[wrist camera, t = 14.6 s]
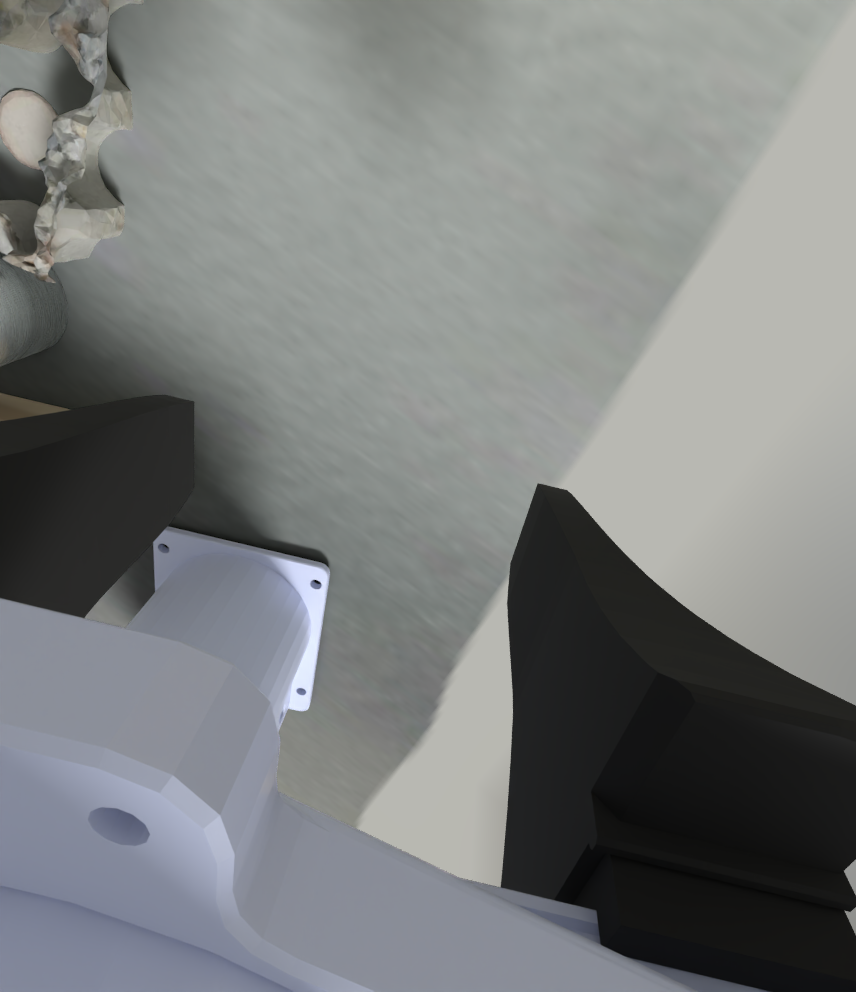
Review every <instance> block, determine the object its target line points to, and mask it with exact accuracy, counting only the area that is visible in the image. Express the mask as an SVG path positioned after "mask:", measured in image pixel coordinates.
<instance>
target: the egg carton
mask: <svg viewBox="0 0 856 992" xmlns="http://www.w3.org/2000/svg"><path fill="white" fill-rule="evenodd" d="M143 2H144V0H0V44H4V45H8V46H12V47H16V48H20V49H24V50H28V51H32V52H38V53H52V52H54V51H56V50H57V49H58V48H59V47H61V45H63V46H64V47H65V49H66V50H67V51H68V52H69V54H70V55H71V57H72V58H73V60H74V61H75V63H76V65H77V68H78V70H79V72H80V73H81V74H82V76H83V77H84V78H85V79H86V80H88V81H89V82H90V83H92V84H93V86H94V89H93V93H92V96H91V99H90V101H89V102H88V103H87V104H86V105H85V106H84V107H82V108H78V109H75V110H71V111H69V112H66V113H64V114H61V115H59V116H58V115H57V114H56V112H55V111H54V109H53V108H52V106H51V105H50V104H49V103H48V102H47V101H46V100H45V99H44V98H43V97H42V96H40V95H38V94H37V93H35V92H33V91H29V90H24V89H20V90H15V91H10V92H9V93H8V94H7V95H5V96H4V97H3V98H2V100H1V103H0V135H1V138H2V140H3V143H4V144H5V145H6V147H7V148H8V149H9V151H10V152H11V153H12V154H13V156H14V157H15V158H16V159H17V160H18V161H20V162H21V163H22V164H24V165H26V166H28V167H30V168H33V169H37V170H42V171H43V173H44V176H45V178H46V179H45V184H46V186H47V187H48V190H47V192H46V195H45V197H44V199H43V201H42V203H41V205H40V206H38V205H36V204H34V203H32V202H30V201H25V200H0V252H1V253H4V254H6V256H3V257H2V259H3V260H5V261H7V262H8V263H10V264H12V265H14V266H17V267H19V268H21V269H24V270H26V271H29V272H31V273H35V274H34V276H35V277H36V278H37V279H38V280H40V281H45V282H52V283H55V282H56V281H55V280H54V279H53V278H52V277H51V276H50V275H49V274H48V272H49V270H50V268H51V266H53V265H54V263H56V262H68V261H71V260H77V259H84V258H88V257H90V255H91V252H92V250H93V249H94V247H95V245H96V243H97V242H98V241H100V240H101V239H107V238H112V237H115V236H120V234H121V233H122V230H123V227H124V214H125V207H124V205H123V204H122V203H120V202H119V201H118V200H116V199H115V198H114V196H113V195H112V194H111V193H110V192H109V190H108V189H107V188H106V187H105V185H104V182H103V180H102V178H101V175H100V171H99V167H98V151H99V147H100V145H101V143H102V142H103V140H104V139H105V138H106V137H107V136H108V135H109V134H111V133H112V132H114V131H116V130H133V116H132V105H131V96H132V94H131V91H130V90H129V89H128V88H127V87H126V86H125V85H124V84H123V83H122V82H121V81H120V80H119V78H118V77H117V76H116V74H115V73H114V72H113V70H112V68H111V66H110V63H109V60H108V57H107V33H108V21H109V18H110V16H111V14H113V13H114V12H115V11H116V10H117V9H119V8H120V7H122V6H124V5H126V4H143Z"/></svg>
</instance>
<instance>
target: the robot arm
mask: <svg viewBox="0 0 856 992" xmlns="http://www.w3.org/2000/svg"><path fill="white" fill-rule="evenodd" d="M193 489H194V402H193V401H189V400H185V399H180V398H176V397H172V396H168V395H153V396H144V397H138V398H131V399H126V400H120V401H115V402H109V403H104V404H99V405H94V406H89V407H83V408H78V409H73V410H67V411H61V412H55V413H49V414H43V415H37V416H31V417H25V418H19V419H12V420H5V421H0V992H856V935H855V933H854V931H853V929H852V926H851V924H850V922H849V920H848V918H847V915H846V913H845V911H849V912H851V911H852V910H853V909H854V908H855V907H856V895H855V894H854V891H853V889H852V887H851V885H850V883H849V881H848V879H847V877H846V875H845V873H844V870H845V869H846V868H847V867H848V866H849V865H850V864H851V863H852V862H853V861H854V860H855V859H856V706H855V705H853V704H851V703H849V702H847V701H845V700H843V699H841V698H839V697H837V696H835V695H833V694H830V693H829V692H827V691H825V690H823V689H820V688H818V687H816V686H814V685H812V684H810V683H808V682H806V681H804V680H802V679H800V678H798V677H796V676H794V675H792V674H790V673H789V672H787V671H785V670H783V669H781V668H780V667H778V666H776V665H774V664H772V663H771V662H769V661H767V660H766V659H764V658H762V657H760V656H759V655H757V654H755V653H753V652H751V651H750V650H748V649H746V648H745V647H743V646H742V645H740V644H738V643H737V642H735V641H734V640H732V639H731V638H729V637H727V636H726V635H724V634H723V633H722V632H720V631H719V630H717V629H716V628H714V627H713V626H711V625H710V624H708V623H707V622H705V621H704V620H702V619H701V618H700V617H698V616H697V615H695V614H694V613H693V612H691V611H690V610H689V609H687V608H686V607H685V606H683V605H682V604H681V603H679V602H678V601H677V600H676V599H675V598H673V597H672V596H671V595H670V594H668V593H667V592H666V591H665V590H664V589H662V588H661V587H660V586H659V585H657V584H656V583H655V582H654V581H653V580H652V579H651V578H649V577H648V576H647V575H646V574H645V573H644V572H643V571H642V570H641V569H640V568H639V567H638V566H637V565H636V564H635V563H634V562H633V561H632V560H631V559H630V558H629V557H628V556H627V555H626V554H625V553H624V552H623V551H622V550H621V549H620V548H619V547H618V546H617V545H616V544H615V543H614V542H613V541H612V540H611V539H610V538H609V536H607V534H606V533H605V532H604V531H603V530H602V529H601V527H600V526H599V525H598V524H597V523H596V522H595V520H594V519H593V518H592V517H591V516H590V515H589V513H588V512H587V511H586V510H585V509H584V508H583V506H582V505H581V504H580V503H579V502H578V501H577V500H576V499H575V497H573V495H572V494H571V493H570V492H568V491H567V490H564V489H559V488H555V487H551V486H547V485H543V484H537V487H536V490H535V493H534V496H533V499H532V502H531V505H530V508H529V511H528V514H527V517H526V520H525V523H524V525H523V528H522V531H521V534H520V537H519V540H518V543H517V546H516V549H515V552H514V555H513V558H512V561H511V565H510V575H509V586H508V601H507V606H508V623H509V641H510V655H511V656H510V657H511V672H512V688H513V727H512V747H511V764H510V779H509V780H510V781H509V796H508V810H507V822H506V835H505V846H504V858H503V870H502V881H501V887H496V886H492V885H488V884H484V883H479V882H476V881H471V880H467V879H463V878H459V877H457V876H455V875H453V874H451V873H448V872H446V871H444V870H442V869H440V868H438V867H436V866H434V865H432V864H430V863H428V862H425V861H423V860H421V859H419V858H417V857H415V856H413V855H411V854H409V853H407V852H404V851H402V850H400V849H398V848H396V847H394V846H392V845H390V844H388V843H386V842H383V841H381V840H379V839H377V838H375V837H373V836H371V835H369V834H367V833H365V832H363V831H360V830H358V829H356V828H354V827H352V826H350V825H348V824H346V823H344V822H342V821H339V820H337V819H335V818H333V817H331V816H329V815H327V814H325V813H323V812H321V811H318V810H316V809H314V808H312V807H310V806H308V805H306V804H304V803H302V802H300V801H297V800H295V799H293V798H291V797H289V796H287V795H285V794H283V793H281V792H279V791H278V788H277V777H276V775H277V766H278V758H279V749H280V736H279V729H280V727H281V724H282V722H283V719H284V717H285V714H286V712H287V710H288V708H289V709H293V710H297V711H305V710H307V709H308V708H309V705H310V703H311V697H312V691H313V684H314V677H315V671H316V664H317V657H318V651H319V644H320V637H321V631H322V624H323V617H324V611H325V604H326V597H327V591H328V584H329V578H330V570H329V568H328V567H327V566H326V565H325V564H323V563H321V562H317V561H312V560H308V559H304V558H300V557H296V556H291V555H287V554H283V553H279V552H274V551H270V550H266V549H262V548H257V547H253V546H249V545H245V544H241V543H236V542H232V541H228V540H224V539H219V538H215V537H211V536H207V535H203V534H198V533H194V532H190V531H186V530H181V529H177V528H173V527H169V526H168V525H169V524H170V523H171V522H172V520H173V519H174V517H175V516H176V515H177V513H178V512H179V510H180V509H181V508H182V506H183V504H184V503H185V501H186V500H187V498H188V497H189V495H190V493H191V492H192V490H193ZM152 543H153V550H154V576H155V593H154V594H153V596H152V597H151V598H150V599H149V600H148V601H147V603H146V604H145V605H144V606H143V607H142V609H141V610H140V611H139V612H138V613H137V615H136V616H135V617H134V618H133V619H132V621H131V622H130V623H129V624H128V625H127V626H126V628H123V627H119V626H115V625H111V624H106V623H102V622H98V621H94V620H90V619H85V618H84V617H85V616H86V615H87V613H88V612H89V611H90V610H91V609H92V607H93V606H94V605H95V604H96V603H97V602H98V601H99V599H100V598H101V597H102V596H103V595H104V594H105V593H106V592H107V590H108V589H109V588H110V587H111V586H112V585H113V584H114V583H115V582H116V581H117V580H118V579H119V578H120V577H121V576H122V575H123V574H124V572H125V571H126V570H127V569H128V568H129V567H130V566H131V565H132V564H133V563H134V562H135V561H136V560H137V559H138V558H139V557H140V556H141V555H142V553H143V552H144V551H145V550H146V549H147V548H148V547H149V546H150V545H151V544H152ZM163 544H165V545H167V546H168V547H169V548H166V547H165V546H164V545H163ZM313 580H318V581H320V583H321V584H317V583H315V582H314V581H313ZM301 688H303V689H301ZM844 910H845V911H844Z"/></svg>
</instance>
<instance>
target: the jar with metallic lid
mask: <svg viewBox="0 0 856 992" xmlns="http://www.w3.org/2000/svg"><path fill="white" fill-rule="evenodd" d="M3 256H6V254H4V253H1V252H0V366H3V365H5V364H8V363H11V362H13V361H16V360H19V359H22V358H24V357H27V356H30V355H32V354H35V353H38V352H40V351H43V350H46V349H48V348H50V347H52V346H53V345H55V344H56V343H57V342H58V341H59V339H60V338H61V337H62V335H63V333H64V331H65V328H66V325H67V320H68V307H67V300H66V296H65V293H64V290H63V287H62V285H61V283H60V280H59V278H58V277H57V275H56V273H55V271H54V270H53V268H52V267H51V268H50V270H49V272H48V274H49V275H50V276H51V277H52V278H53V279H54V280H55V281H56V282H55V283H52V282H45V281H40V280H38V279H37V278H36V277H35V276H34V274H35V273H31V272H29V271H26V270H24V269H21V268H19V267H17V266H14V265H12V264H10V263H8V262H7V261H5V260H3V259H2V257H3Z"/></svg>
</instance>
